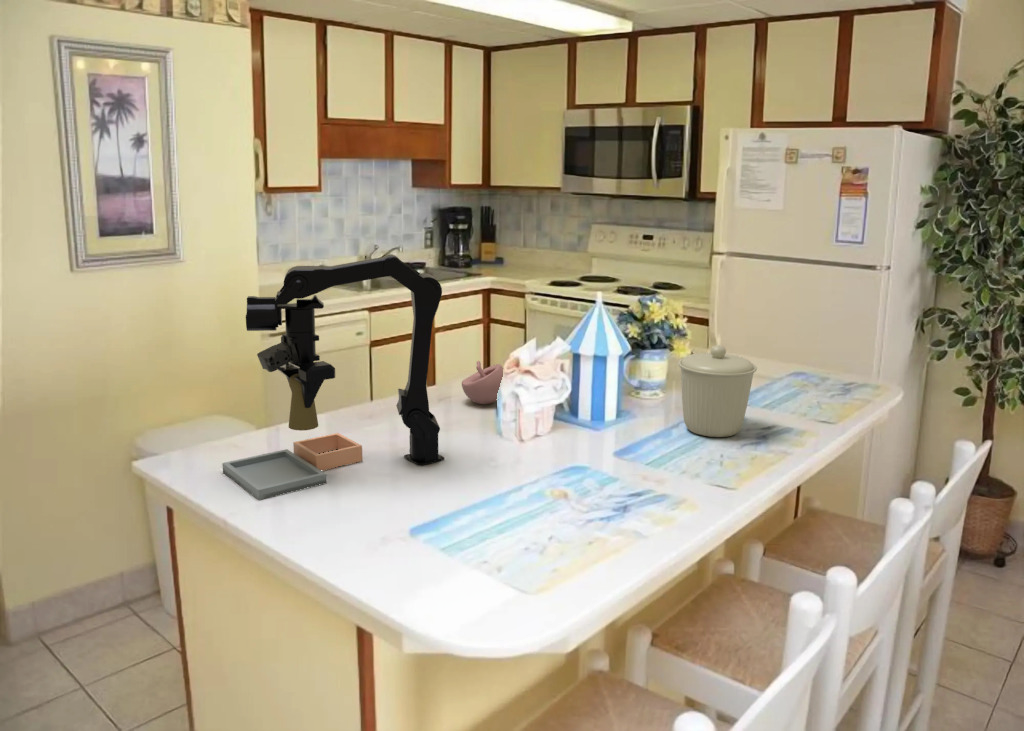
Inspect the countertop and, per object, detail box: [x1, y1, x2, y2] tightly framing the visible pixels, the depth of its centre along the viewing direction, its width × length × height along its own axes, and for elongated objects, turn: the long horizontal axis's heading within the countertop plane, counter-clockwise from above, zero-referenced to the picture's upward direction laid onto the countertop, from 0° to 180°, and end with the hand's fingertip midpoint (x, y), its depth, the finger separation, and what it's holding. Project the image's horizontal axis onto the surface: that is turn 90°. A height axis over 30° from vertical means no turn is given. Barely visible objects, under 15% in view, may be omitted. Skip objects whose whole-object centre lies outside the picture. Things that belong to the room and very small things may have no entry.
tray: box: [221, 449, 328, 501], centre depth 171 cm, size 18×14×2 cm
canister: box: [677, 344, 758, 438], centre depth 202 cm, size 18×18×21 cm
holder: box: [293, 432, 363, 471], centre depth 181 cm, size 11×11×4 cm
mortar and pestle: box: [461, 360, 504, 405], centre depth 223 cm, size 12×12×11 cm
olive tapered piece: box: [288, 373, 319, 432], centre depth 174 cm, size 6×6×11 cm
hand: (302, 404), depth 174 cm, fingers closed on olive tapered piece, 4 cm apart
